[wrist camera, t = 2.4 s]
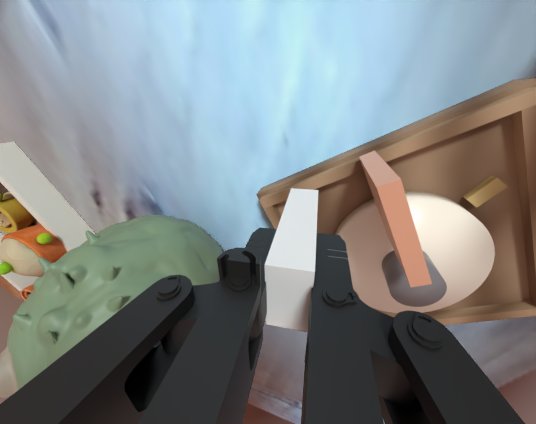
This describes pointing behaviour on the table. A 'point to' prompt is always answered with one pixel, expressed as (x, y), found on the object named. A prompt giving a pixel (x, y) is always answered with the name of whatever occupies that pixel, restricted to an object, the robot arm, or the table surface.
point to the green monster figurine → (100, 288)
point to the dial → (412, 246)
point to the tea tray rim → (38, 204)
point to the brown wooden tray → (451, 188)
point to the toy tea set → (25, 242)
